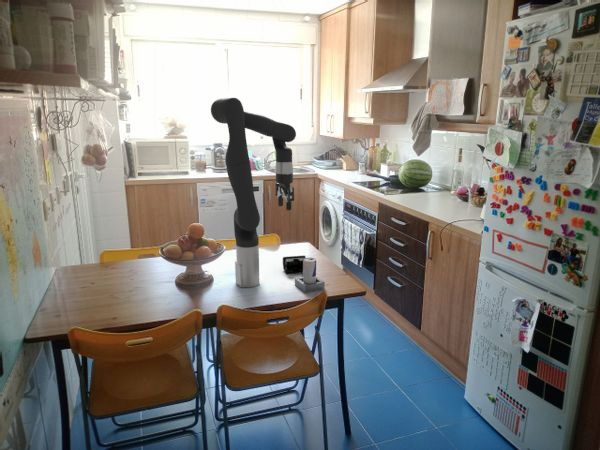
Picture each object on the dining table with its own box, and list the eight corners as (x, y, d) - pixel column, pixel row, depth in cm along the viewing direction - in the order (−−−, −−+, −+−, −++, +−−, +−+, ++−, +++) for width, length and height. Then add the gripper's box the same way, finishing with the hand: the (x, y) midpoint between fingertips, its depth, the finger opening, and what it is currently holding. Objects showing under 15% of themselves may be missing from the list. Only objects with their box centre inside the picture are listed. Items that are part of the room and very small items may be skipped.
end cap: (303, 267, 205) (304, 253, 203) (307, 273, 199) (307, 258, 197) (282, 269, 203) (282, 255, 201) (285, 274, 197) (285, 260, 195)
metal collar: (305, 293, 177) (305, 286, 177) (294, 285, 185) (294, 278, 184) (324, 288, 182) (324, 282, 181) (313, 281, 189) (313, 274, 188)
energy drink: (318, 286, 184) (318, 258, 181) (311, 290, 180) (312, 262, 177) (307, 283, 187) (307, 256, 184) (300, 287, 182) (300, 260, 179)
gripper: (269, 170, 198) (270, 205, 202) (283, 174, 186) (283, 212, 190) (285, 169, 201) (285, 204, 206) (299, 173, 189) (299, 210, 193)
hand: (284, 208), depth 198 cm, fingers open, 8 cm apart
